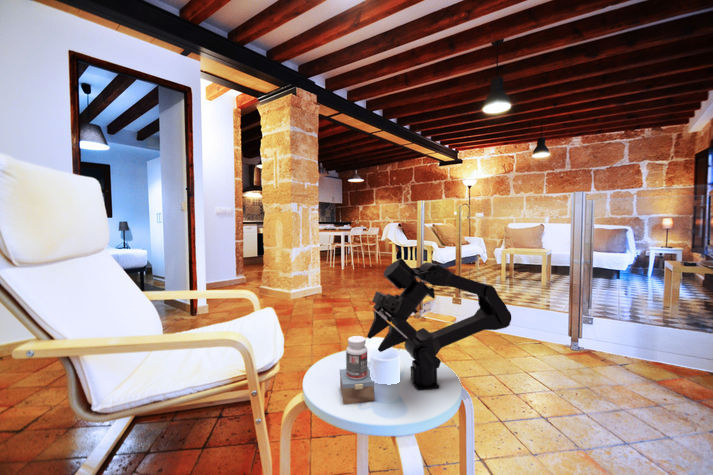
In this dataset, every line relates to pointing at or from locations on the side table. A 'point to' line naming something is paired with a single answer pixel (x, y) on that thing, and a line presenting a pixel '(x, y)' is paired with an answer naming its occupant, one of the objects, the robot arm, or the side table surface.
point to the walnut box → (357, 394)
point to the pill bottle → (356, 358)
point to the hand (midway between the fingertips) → (373, 343)
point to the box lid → (355, 383)
